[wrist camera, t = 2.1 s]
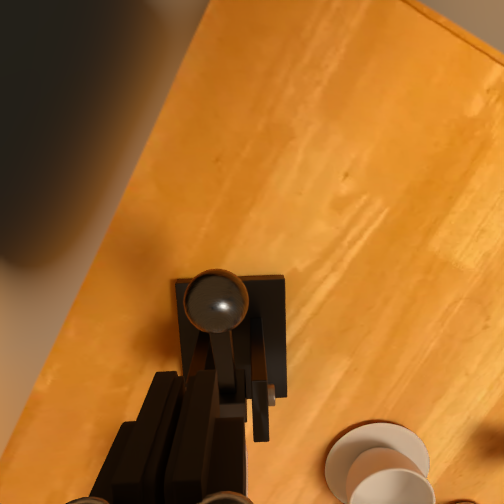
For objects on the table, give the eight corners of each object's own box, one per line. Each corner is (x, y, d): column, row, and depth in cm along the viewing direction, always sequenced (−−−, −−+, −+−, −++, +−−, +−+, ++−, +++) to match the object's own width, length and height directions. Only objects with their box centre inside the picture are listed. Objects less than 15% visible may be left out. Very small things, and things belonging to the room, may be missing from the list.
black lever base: (177, 279, 34) (147, 335, 24) (283, 274, 34) (299, 329, 24) (187, 393, 37) (164, 489, 27) (285, 389, 37) (301, 483, 27)
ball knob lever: (182, 256, 20) (175, 308, 18) (246, 254, 20) (248, 305, 18) (208, 385, 29) (206, 430, 27) (253, 383, 29) (254, 428, 27)
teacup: (342, 409, 38) (355, 445, 33) (442, 432, 38) (468, 470, 34) (311, 495, 40) (319, 540, 35) (406, 515, 41) (426, 561, 36)
